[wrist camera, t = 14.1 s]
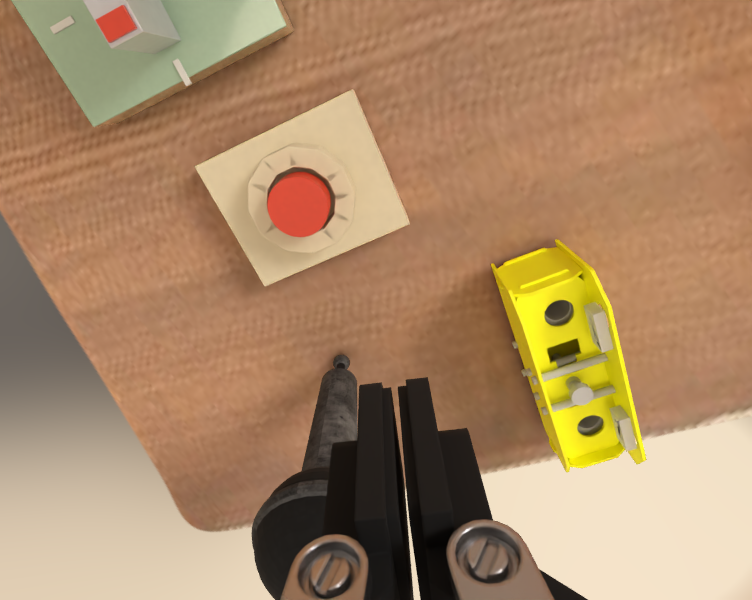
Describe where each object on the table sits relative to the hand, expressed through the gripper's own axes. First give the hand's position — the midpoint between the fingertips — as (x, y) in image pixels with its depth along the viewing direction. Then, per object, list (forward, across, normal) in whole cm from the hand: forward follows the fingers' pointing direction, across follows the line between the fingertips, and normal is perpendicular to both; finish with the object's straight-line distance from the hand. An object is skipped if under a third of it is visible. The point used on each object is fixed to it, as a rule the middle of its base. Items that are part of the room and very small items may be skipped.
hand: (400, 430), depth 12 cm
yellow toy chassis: (+24, -12, +12) cm, 30 cm away
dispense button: (+20, +5, -2) cm, 21 cm away
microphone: (+24, +5, +12) cm, 27 cm away
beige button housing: (+24, +5, -2) cm, 25 cm away
